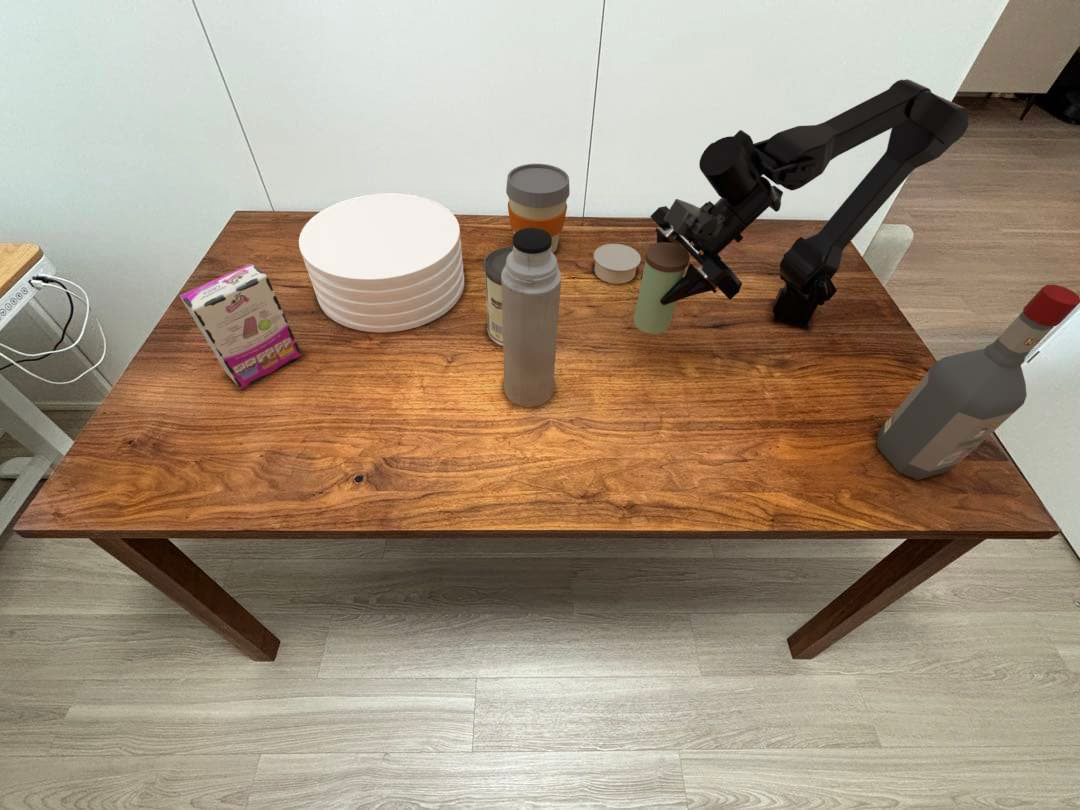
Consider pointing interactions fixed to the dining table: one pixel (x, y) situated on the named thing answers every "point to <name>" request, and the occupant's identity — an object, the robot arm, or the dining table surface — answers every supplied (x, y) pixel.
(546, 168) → the reusable coffee cup
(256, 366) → the candy bar box
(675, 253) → the cylinder
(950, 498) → the dining table surface
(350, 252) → the plate stack
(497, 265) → the coffee can
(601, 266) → the coffee pod
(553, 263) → the thermos bottle
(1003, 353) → the liquor
